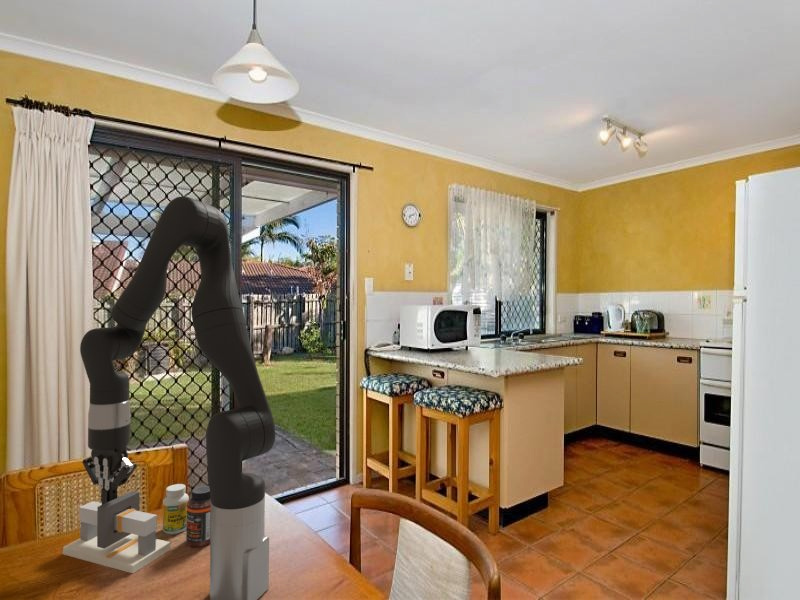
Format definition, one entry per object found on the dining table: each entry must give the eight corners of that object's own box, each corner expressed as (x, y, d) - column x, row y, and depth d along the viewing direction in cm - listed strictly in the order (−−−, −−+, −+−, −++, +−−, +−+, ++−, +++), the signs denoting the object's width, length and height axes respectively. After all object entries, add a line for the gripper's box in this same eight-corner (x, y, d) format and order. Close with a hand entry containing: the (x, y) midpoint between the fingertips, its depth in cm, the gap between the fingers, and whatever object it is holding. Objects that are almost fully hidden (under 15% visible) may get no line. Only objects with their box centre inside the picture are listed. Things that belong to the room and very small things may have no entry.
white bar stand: (170, 549, 97) (170, 508, 97) (133, 573, 89) (133, 528, 88) (103, 533, 103) (104, 494, 103) (62, 554, 95) (63, 512, 95)
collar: (139, 529, 99) (139, 492, 99) (104, 548, 92) (104, 508, 91) (132, 527, 100) (132, 490, 100) (97, 546, 92) (97, 506, 92)
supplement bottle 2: (179, 545, 98) (180, 493, 98) (198, 531, 104) (198, 482, 104) (204, 549, 97) (204, 496, 97) (221, 535, 103) (222, 485, 103)
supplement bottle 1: (186, 521, 109) (187, 480, 109) (190, 530, 105) (191, 488, 105) (161, 527, 106) (161, 485, 106) (164, 537, 102) (164, 494, 102)
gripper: (149, 421, 98) (148, 502, 98) (103, 415, 102) (102, 493, 102) (117, 431, 91) (116, 518, 91) (69, 424, 95) (68, 508, 95)
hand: (108, 505), depth 96 cm, fingers closed
